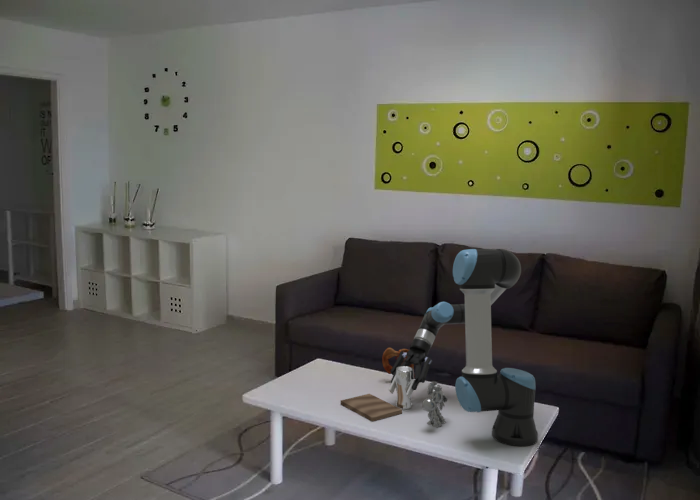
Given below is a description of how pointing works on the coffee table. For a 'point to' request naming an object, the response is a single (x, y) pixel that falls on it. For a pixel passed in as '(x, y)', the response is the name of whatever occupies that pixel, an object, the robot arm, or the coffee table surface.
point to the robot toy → (434, 404)
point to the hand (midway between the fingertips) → (399, 394)
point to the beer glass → (403, 386)
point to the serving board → (371, 407)
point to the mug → (389, 354)
